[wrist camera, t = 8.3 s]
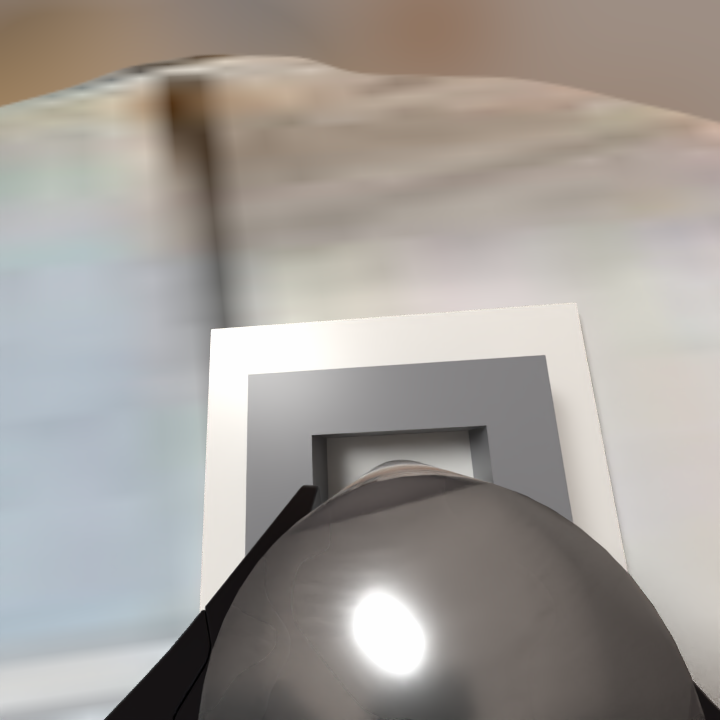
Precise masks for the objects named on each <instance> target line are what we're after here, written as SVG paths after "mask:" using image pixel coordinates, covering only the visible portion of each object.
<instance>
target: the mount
mask: <svg viewBox="0 0 720 720" xmlns="http://www.w3.org/2000/svg"><path fill="white" fill-rule="evenodd" d="M392 460H412V461H416V462H420V463H423V464H427V465H430V466H434V467H437V468H441V469H444V470H448V471H451V472H455V473H458V474H462V475H465V476H469V477H472V478H476V479H479V480H483V481H486V482H489V483H493V484H496V485H499V486H501V487H504V488H507V489H510V490H513V491H515V492H518V493H521V494H523V495H525V496H528V497H530V498H531V499H533V500H535V501H537V502H539V503H541V504H543V505H545V506H547V507H549V508H551V509H553V510H554V511H556V512H557V513H559V514H560V515H562V516H563V517H565V518H566V519H568V520H569V521H571V522H572V523H574V524H575V525H577V526H578V527H580V528H581V529H582V530H583V531H584V532H586V533H587V534H588V535H589V536H590V537H592V538H593V539H594V540H595V541H596V542H598V543H599V544H600V545H601V546H602V547H603V548H605V549H606V550H607V551H608V552H609V553H610V554H611V555H612V557H613V558H614V559H615V560H616V561H617V562H618V563H619V564H620V565H621V566H622V567H623V568H624V569H625V570H626V571H627V572H628V570H627V565H626V560H625V554H624V549H623V544H622V539H621V534H620V528H619V523H618V518H617V513H616V507H615V502H614V497H613V492H612V487H611V481H610V476H609V471H608V466H607V461H606V455H605V450H604V445H603V440H602V434H601V429H600V424H599V419H598V414H597V408H596V403H595V398H594V393H593V388H592V382H591V377H590V372H589V367H588V361H587V356H586V351H585V346H584V341H583V335H582V330H581V325H580V320H579V315H578V309H577V304H576V302H575V303H561V304H548V305H534V306H521V307H507V308H494V309H480V310H467V311H453V312H440V313H426V314H413V315H399V316H386V317H372V318H359V319H345V320H332V321H318V322H305V323H291V324H278V325H264V326H251V327H237V328H224V329H211V349H210V374H209V398H208V422H207V447H206V471H205V495H204V519H203V544H202V568H201V592H200V612H201V611H202V610H205V606H206V605H207V603H208V602H209V601H210V600H211V598H212V597H213V596H214V595H215V593H216V592H217V591H218V590H219V588H220V587H221V586H222V585H223V583H224V582H225V581H226V580H227V578H228V577H229V576H230V575H231V573H232V572H233V571H234V570H235V568H236V567H237V566H238V565H239V563H240V562H241V561H242V560H243V558H244V557H245V556H246V555H247V553H248V552H249V551H250V550H251V548H252V547H253V546H254V545H255V543H256V542H257V541H258V540H259V538H260V537H261V536H262V535H263V533H264V532H265V531H266V530H267V528H268V527H269V526H270V525H271V523H272V522H273V521H274V520H275V518H276V517H277V516H278V515H279V513H280V512H281V511H282V510H283V508H284V507H285V506H286V505H287V503H288V502H289V501H290V500H291V498H292V497H293V496H294V495H295V493H296V492H297V491H298V490H299V488H300V487H301V486H303V485H317V486H319V489H320V496H321V504H323V503H324V502H326V501H327V500H329V499H330V498H331V497H333V496H334V495H336V494H337V493H339V492H340V491H341V490H343V489H344V488H346V487H347V486H348V485H350V484H351V483H353V482H354V481H356V480H357V479H358V478H360V477H361V476H363V475H364V474H365V473H367V472H368V471H370V470H371V469H373V468H374V467H376V466H378V465H380V464H382V463H385V462H388V461H392Z"/></svg>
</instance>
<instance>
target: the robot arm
mask: <svg viewBox="0 0 720 720" xmlns="http://www.w3.org/2000/svg"><path fill="white" fill-rule="evenodd" d="M527 497H528V496H527ZM529 498H530V497H529ZM320 505H322V504H321V496H320V489H319V486H317V485H303V486H301V487H300V488H299V490H298V491H297V492H296V493H295V495H294V496H293V497H292V498H291V500H290V501H289V502H288V503H287V505H286V506H285V507H284V508H283V510H282V511H281V512H280V513H279V515H278V516H277V517H276V518H275V520H274V521H273V522H272V523H271V525H270V526H269V527H268V528H267V530H266V531H265V532H264V533H263V535H262V536H261V537H260V538H259V540H258V541H257V542H256V543H255V545H254V546H253V547H252V548H251V550H250V551H249V552H248V553H247V555H246V556H245V557H244V558H243V560H242V561H241V562H240V563H239V565H238V566H237V567H236V568H235V570H234V571H233V572H232V573H231V575H230V576H229V577H228V578H227V580H226V581H225V582H224V583H223V585H222V586H221V587H220V588H219V590H218V591H217V592H216V593H215V595H214V596H213V597H212V598H211V600H210V601H209V602H208V603H207V605H206V606H205V610H202V611H201V612H200V613H199V614H198V616H197V617H196V618H195V619H194V621H193V622H192V623H191V624H190V626H189V627H188V628H187V629H186V631H185V632H184V633H183V634H182V635H181V636H180V638H179V639H178V640H177V641H176V642H175V644H174V645H173V646H172V647H171V648H170V650H169V651H168V652H167V653H166V654H165V655H164V656H163V657H162V658H161V659H160V661H159V662H158V663H157V664H156V665H155V666H154V667H153V668H152V669H151V670H150V671H149V673H148V674H147V675H146V676H145V677H144V678H143V679H142V680H141V681H140V682H139V683H138V684H137V685H136V686H135V687H134V689H133V690H132V691H131V692H130V693H129V694H128V695H127V696H126V697H125V698H124V699H123V700H122V701H121V702H120V703H119V704H118V705H117V706H116V708H115V709H114V710H113V711H112V712H111V713H110V714H109V715H108V716H107V717H106V718H105V719H104V720H198V718H199V711H200V704H201V697H202V690H203V684H204V680H205V676H206V672H207V669H208V665H209V661H210V657H211V653H212V650H213V647H214V644H215V642H216V639H217V636H218V634H219V631H220V628H221V626H222V623H223V621H224V618H225V616H226V614H227V612H228V610H229V608H230V607H231V605H232V603H233V601H234V599H235V597H236V595H237V593H238V591H239V589H240V588H241V586H242V585H243V583H244V582H245V580H246V579H247V577H248V576H249V574H250V573H251V571H252V570H253V568H254V567H255V565H256V564H257V563H258V561H259V560H260V559H261V558H262V557H263V556H264V555H265V553H266V552H267V551H268V550H269V549H270V548H271V547H272V545H273V544H274V543H275V542H276V541H277V540H278V539H279V538H280V537H281V536H282V535H283V534H284V533H286V532H287V531H288V530H289V529H290V528H291V527H292V526H293V525H295V524H296V523H297V522H298V521H299V520H300V519H302V518H303V517H305V516H306V515H307V514H309V513H310V512H312V511H313V510H315V509H316V508H317V507H319V506H320ZM692 681H693V680H692ZM693 684H694V687H695V690H696V693H697V695H698V698H699V701H700V704H701V707H702V710H703V713H704V716H705V720H720V709H719V708H718V707H717V706H716V705H715V704H714V703H713V702H712V701H711V700H710V699H709V698H708V697H707V696H706V694H705V693H704V692H703V691H702V690H701V689H700V688H699V687H698V686H697V685H696V684H695V682H694V681H693Z"/></svg>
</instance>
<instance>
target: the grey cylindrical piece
mask: <svg viewBox="0 0 720 720" xmlns="http://www.w3.org/2000/svg"><path fill="white" fill-rule="evenodd" d="M198 720H705V716H704V713H703V710H702V707H701V704H700V701H699V698H698V695H697V693H696V690H695V687H694V684H693V681H692V678H691V675H690V673H689V671H688V669H687V667H686V665H685V662H684V660H683V658H682V656H681V654H680V652H679V649H678V647H677V645H676V643H675V641H674V639H673V637H672V636H671V634H670V632H669V631H668V629H667V627H666V626H665V624H664V622H663V621H662V619H661V617H660V616H659V614H658V612H657V611H656V609H655V607H654V606H653V604H652V603H651V602H650V600H649V599H648V598H647V597H646V595H645V594H644V593H643V591H642V590H641V589H640V587H639V586H638V585H637V583H636V582H635V581H634V579H633V578H632V577H631V576H630V574H629V573H628V572H627V571H626V570H625V569H624V568H623V567H622V566H621V565H620V564H619V563H618V562H617V561H616V560H615V559H614V558H613V557H612V555H611V554H610V553H609V552H608V551H607V550H606V549H605V548H603V547H602V546H601V545H600V544H599V543H598V542H596V541H595V540H594V539H593V538H592V537H590V536H589V535H588V534H587V533H586V532H584V531H583V530H582V529H581V528H580V527H578V526H577V525H575V524H574V523H572V522H571V521H569V520H568V519H566V518H565V517H563V516H562V515H560V514H559V513H557V512H556V511H554V510H553V509H551V508H549V507H547V506H545V505H543V504H541V503H539V502H537V501H535V500H533V499H531V498H529V497H527V496H525V495H523V494H521V493H518V492H515V491H513V490H510V489H507V488H504V487H501V486H499V485H496V484H493V483H489V482H486V481H483V480H479V479H476V478H472V477H469V476H465V475H462V474H458V473H455V472H451V471H448V470H444V469H441V468H437V467H434V466H430V465H427V464H423V463H420V462H416V461H412V460H392V461H388V462H385V463H382V464H380V465H378V466H376V467H374V468H373V469H371V470H370V471H368V472H367V473H365V474H364V475H363V476H361V477H360V478H358V479H357V480H356V481H354V482H353V483H351V484H350V485H348V486H347V487H346V488H344V489H343V490H341V491H340V492H339V493H337V494H336V495H334V496H333V497H331V498H330V499H329V500H327V501H326V502H324V503H323V504H322V505H320V506H319V507H317V508H316V509H315V510H313V511H312V512H310V513H309V514H307V515H306V516H305V517H303V518H302V519H300V520H299V521H298V522H297V523H296V524H295V525H293V526H292V527H291V528H290V529H289V530H288V531H287V532H286V533H284V534H283V535H282V536H281V537H280V538H279V539H278V540H277V541H276V542H275V543H274V544H273V545H272V547H271V548H270V549H269V550H268V551H267V552H266V553H265V555H264V556H263V557H262V558H261V559H260V560H259V561H258V563H257V564H256V565H255V567H254V568H253V570H252V571H251V573H250V574H249V576H248V577H247V579H246V580H245V582H244V583H243V585H242V586H241V588H240V589H239V591H238V593H237V595H236V597H235V599H234V601H233V603H232V605H231V607H230V608H229V610H228V612H227V614H226V616H225V618H224V621H223V623H222V626H221V628H220V631H219V634H218V636H217V639H216V642H215V644H214V647H213V650H212V653H211V657H210V661H209V665H208V669H207V672H206V676H205V680H204V684H203V690H202V697H201V704H200V711H199V718H198Z"/></svg>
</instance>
